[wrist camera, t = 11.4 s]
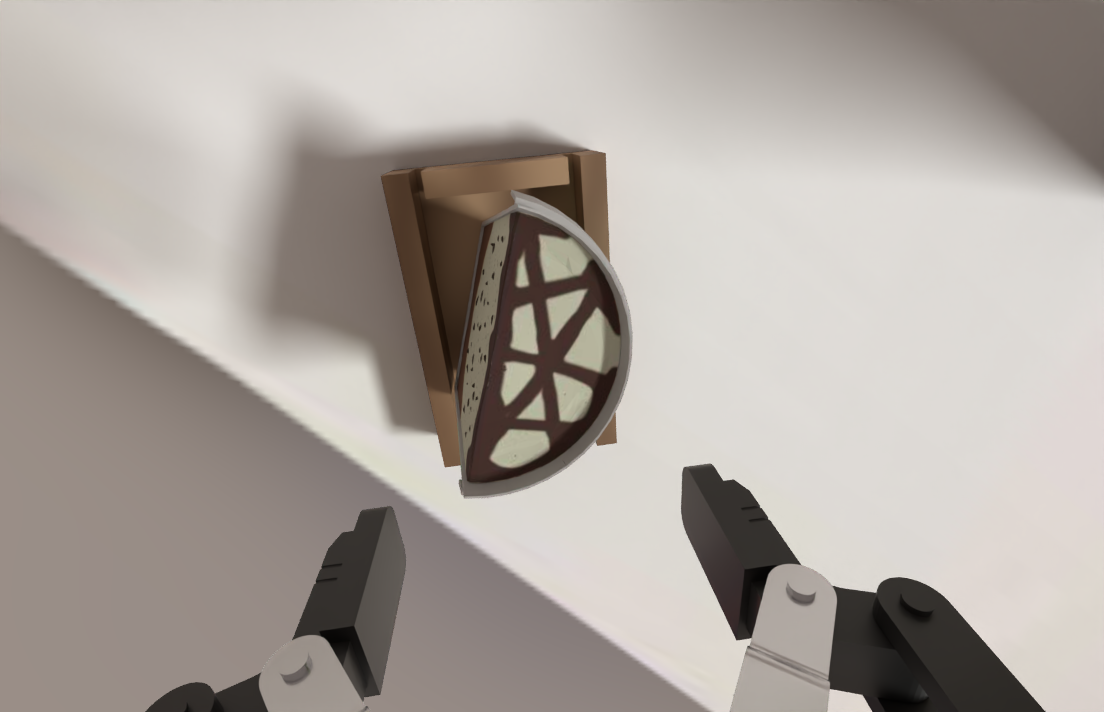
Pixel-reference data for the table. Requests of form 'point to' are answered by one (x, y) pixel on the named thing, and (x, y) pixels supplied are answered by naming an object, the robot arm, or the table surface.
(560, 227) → the food container
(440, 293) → the holder
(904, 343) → the table surface
